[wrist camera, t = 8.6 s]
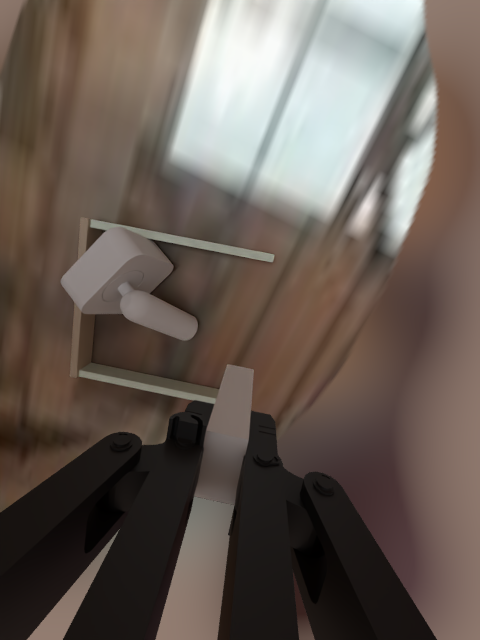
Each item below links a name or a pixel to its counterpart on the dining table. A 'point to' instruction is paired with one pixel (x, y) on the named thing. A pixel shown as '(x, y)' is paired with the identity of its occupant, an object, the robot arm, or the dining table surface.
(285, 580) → the robot arm
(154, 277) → the wall hook
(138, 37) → the dining table surface
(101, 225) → the keeper channel
